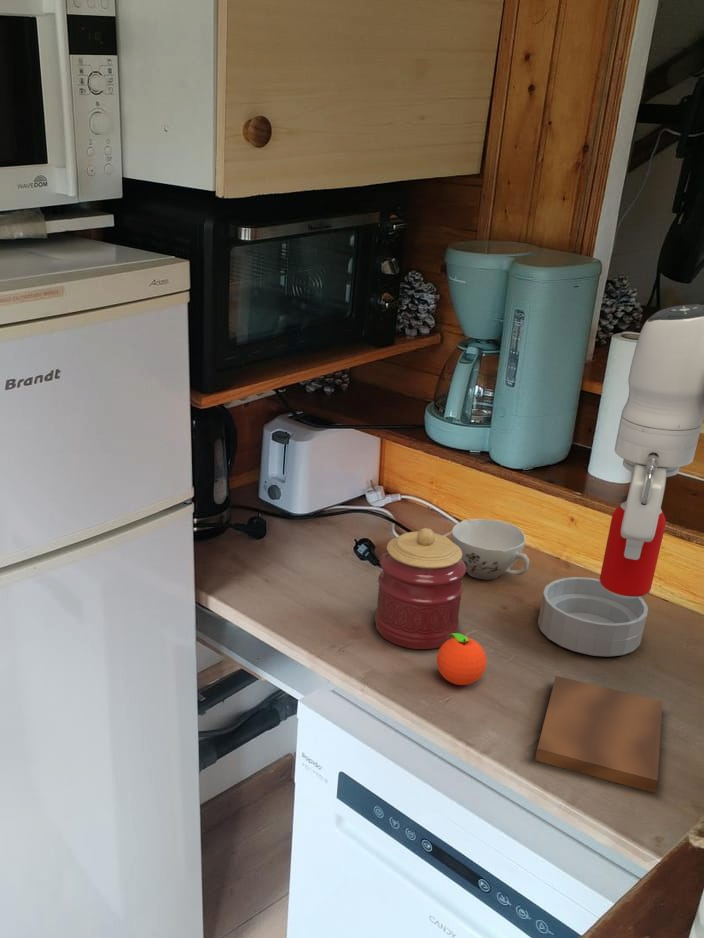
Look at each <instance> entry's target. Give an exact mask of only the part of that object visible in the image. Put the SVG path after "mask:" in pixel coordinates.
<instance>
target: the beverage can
mask: <svg viewBox="0 0 704 938" xmlns="http://www.w3.org/2000/svg"><path fill="white" fill-rule="evenodd" d="M626 502H627V500H626V501H623V502H621V503H620V504H619V505H618V507H616V508H615V510H614V511H613V512H612V515H611V520H610V525H609V530H608V534H607V539H606V545H605V549H604V555H603V559H602V565H601V570H600V574H599V580H600V583H601V585H602V586H603V588H604V589H606V590H607V591H608V592H610V593H611V594H613V595H615V596H617V597H620V598H626V599H633V598H638V597H641V598H642V597H645V596H647V595H649V593H650V591H651V589H652V586H653V581H654V578H655V572H656V569H657V565H658V559H659V555H660V550H661V546H662V541H663V537H664V533H665V529H666V524H667V522H666V521H667V519H666V516H665V514H664V512H663V510H662V509H663V508H661V509H660V513H659V518H658V523H657V527H656V531H655V535H654V538H653V540H652V541H651V542H644V544H643V546H642V549H641V554H640V558H639V559H637V560H633V559H628V558H626V557H625V556H624V552H625V547H626V538H623V537H622V536H621V526H622V521H623V517H624V512H625V507H626Z"/></svg>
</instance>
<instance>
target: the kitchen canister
mask: <svg viewBox="0 0 704 938" xmlns="http://www.w3.org/2000/svg"><path fill="white" fill-rule="evenodd" d="M461 558H462V551H461V549H460V548H459V547H458V546H457V545H456V544H455V543H453V541H452V539H451V540H450V539H449V538H448V537H447V536H444V535H442V534H439V533H435V532H434V531H433V530H432V528H429V527H423V528H421V529H420V530H417V531H409V532H405V533H403V534H401V535H399V536H396V537H394V538H392V539H390V541H389V542H387V545H386V550H385V551H384V553H382V554H381V556H380V558H379V564H380V566H381V568H382V571H381V572H380V574H378V575H379V576H378V580H377V581H378V592H377V601H376V608H375V612H374V621H375V627H376V631H377V632H378V633H379V635H381V637H382V638H384V639H385V640H386V641H388V642H390V643H392V644H395V645H397V646H400V647H404V648H406V649H407V648H408V649H414V650H431V649H432V650H433V649H438V648H441V646H442V645H443V644H444V643H445V642H446V641H448V640H449V639H451V638H455V637H454V636H453V635H452V634H451V633H458V629H459V622H460V620H459V616H460V615H459V613H460V608H461V599H462V594H463V592H464V584H463V581H462V578H463V577H464V576H465V574H466V573H467V572H466V566H465V563H464V562H463V560H462V559H461ZM449 634H451V635H450V636H449V637H448V635H449ZM447 637H448V639H447Z"/></svg>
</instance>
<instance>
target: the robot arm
mask: <svg viewBox="0 0 704 938" xmlns="http://www.w3.org/2000/svg"><path fill="white" fill-rule="evenodd" d="M629 369H630V370H629V374H628V378H627V379H628V380H627V381H628V397H627V400H626V403H625V405H624V406H623V408H622V410H621V414H620V420H619V424H618V430H617V435H616V439H615V444H614V445H615V446H614V452H615V454H616V455H617V456H618V457H619V458H621V459H623V461H622V466H623V467H624V468H625V469H626V470H628V471H629V472H631V477H630V483H629V488H628V492H627V493H628V494H627V497H626V501H627V502H626V501H625V502H626V507H625V512H624V517H623V521H622V526H621V536H622V537H623V538H626V547H625V552H624V556H625V557H626V558H628V559H633V560H637V559H639V558H640V554H641V549H642V546H643V544H644V542H651V541H652V540H653V538H654V535H655V531H656V527H657V523H658V518H659V513H660V509H662V503H663V499H664V495H665V490H666V483H667V478H669V477H673V476H676V475H678V473H679V472H680V468H682V467H686V466H688V465H691V463H693V461H694V459H695V454H696V450H697V446H698V442H699V438H700V432H701V430H702V429H701V428H702V424H703V420H704V304H698V303H697V304H693V303H692V304H681V305H675V306H669V307H666V308H663V309H660V310H658V311H656V312H655V313H653V314H652V315H651V316H650V317H648V318H647V320H646V321H645V322H644V324H643V325H642V327H641V330H640V332H639V335H638V339H637V341H636V343H635V349H634V351H633V356H632V360H631V365H630V368H629Z"/></svg>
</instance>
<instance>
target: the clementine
mask: <svg viewBox="0 0 704 938" xmlns="http://www.w3.org/2000/svg"><path fill="white" fill-rule="evenodd" d="M451 634H452V635H453V636H454V638H451V639H449V640H448V641H446V642H445V643H444V644H443V645H442V646H441V647H439V649H438V652H437V656H436V665H437V669H438V671H439V673H440V675H441V676H442V677H443V678H444V680H446V681H448V682H450V683H451V684H453V685H456V686H468V685H472V684H473V683H475V682H477V681H478V680H479V679H481V677H482V675H483V674H484V673H485V670H486V667H487V656H486V653H485V650H484V649H483V647H482V646H481V645H480V644H479V643H478V641H476V640H475V639H472V638H470V637H468V636H465V635H463V634H462V633H460V632H456V633H451ZM451 634H449V635H448V637H449V636H450V635H451ZM448 637H447V639H448Z"/></svg>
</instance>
